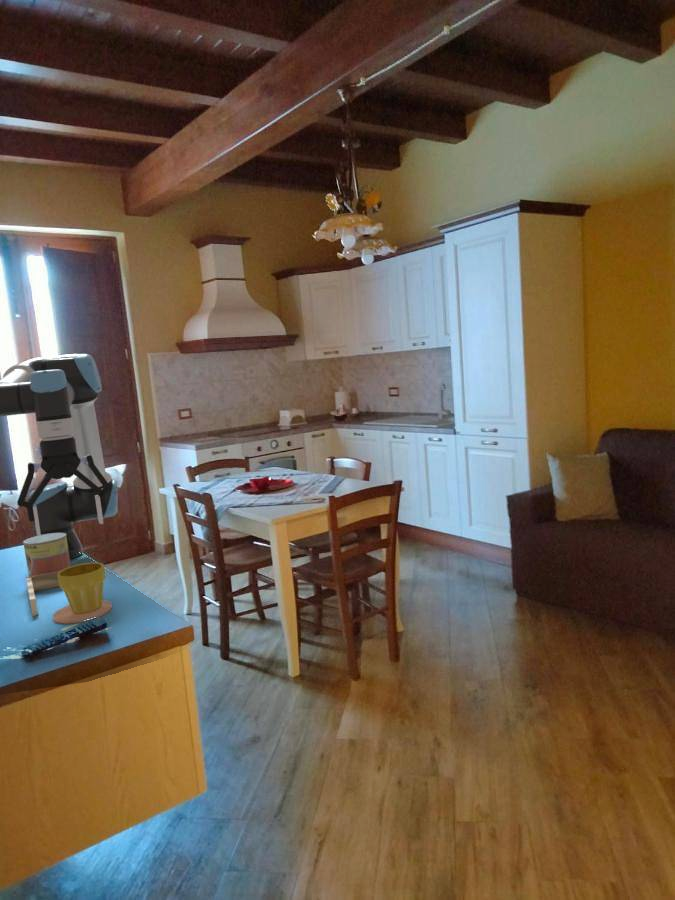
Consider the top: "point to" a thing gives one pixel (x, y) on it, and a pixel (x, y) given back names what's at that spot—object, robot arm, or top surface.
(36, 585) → the slot cradle
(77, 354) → the robot arm
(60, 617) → the disc
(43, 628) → the top surface
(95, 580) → the plant pot
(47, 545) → the canned food
